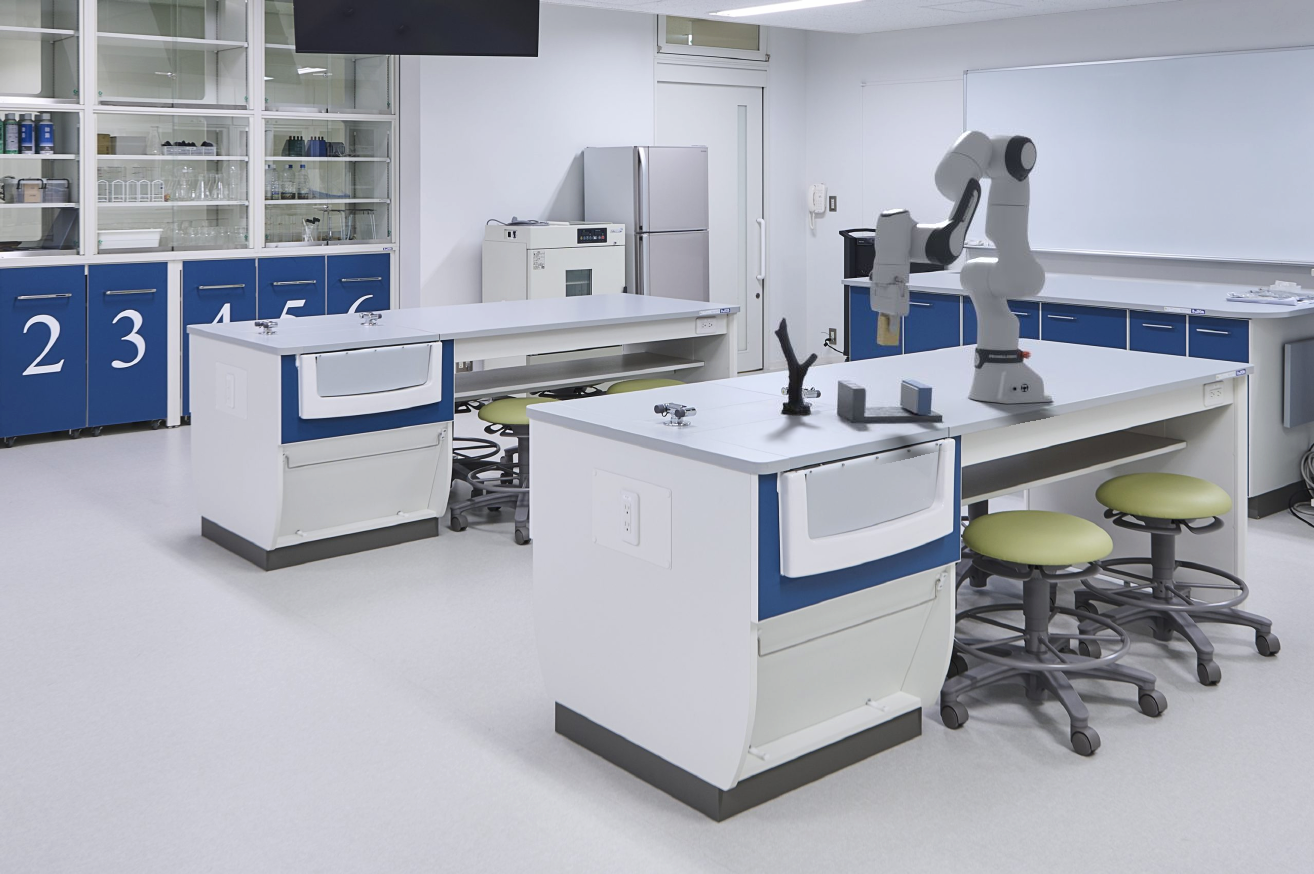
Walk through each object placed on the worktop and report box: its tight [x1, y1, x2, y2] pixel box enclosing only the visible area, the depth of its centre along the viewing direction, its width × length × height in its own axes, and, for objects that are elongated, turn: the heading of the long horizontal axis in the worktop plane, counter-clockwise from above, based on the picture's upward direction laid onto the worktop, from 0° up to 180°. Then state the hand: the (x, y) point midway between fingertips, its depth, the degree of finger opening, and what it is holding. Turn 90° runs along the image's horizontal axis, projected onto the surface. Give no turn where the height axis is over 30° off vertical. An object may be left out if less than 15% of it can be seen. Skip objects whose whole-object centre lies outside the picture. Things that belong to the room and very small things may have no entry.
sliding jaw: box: [899, 379, 933, 415], centre depth 304 cm, size 4×14×7 cm, turn 7°
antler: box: [774, 317, 819, 416], centre depth 306 cm, size 12×8×25 cm
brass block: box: [876, 314, 901, 346], centre depth 299 cm, size 4×5×7 cm
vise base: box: [836, 379, 943, 424], centre depth 303 cm, size 23×14×8 cm, turn 97°
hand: (888, 331), depth 300 cm, fingers closed on brass block, 5 cm apart
